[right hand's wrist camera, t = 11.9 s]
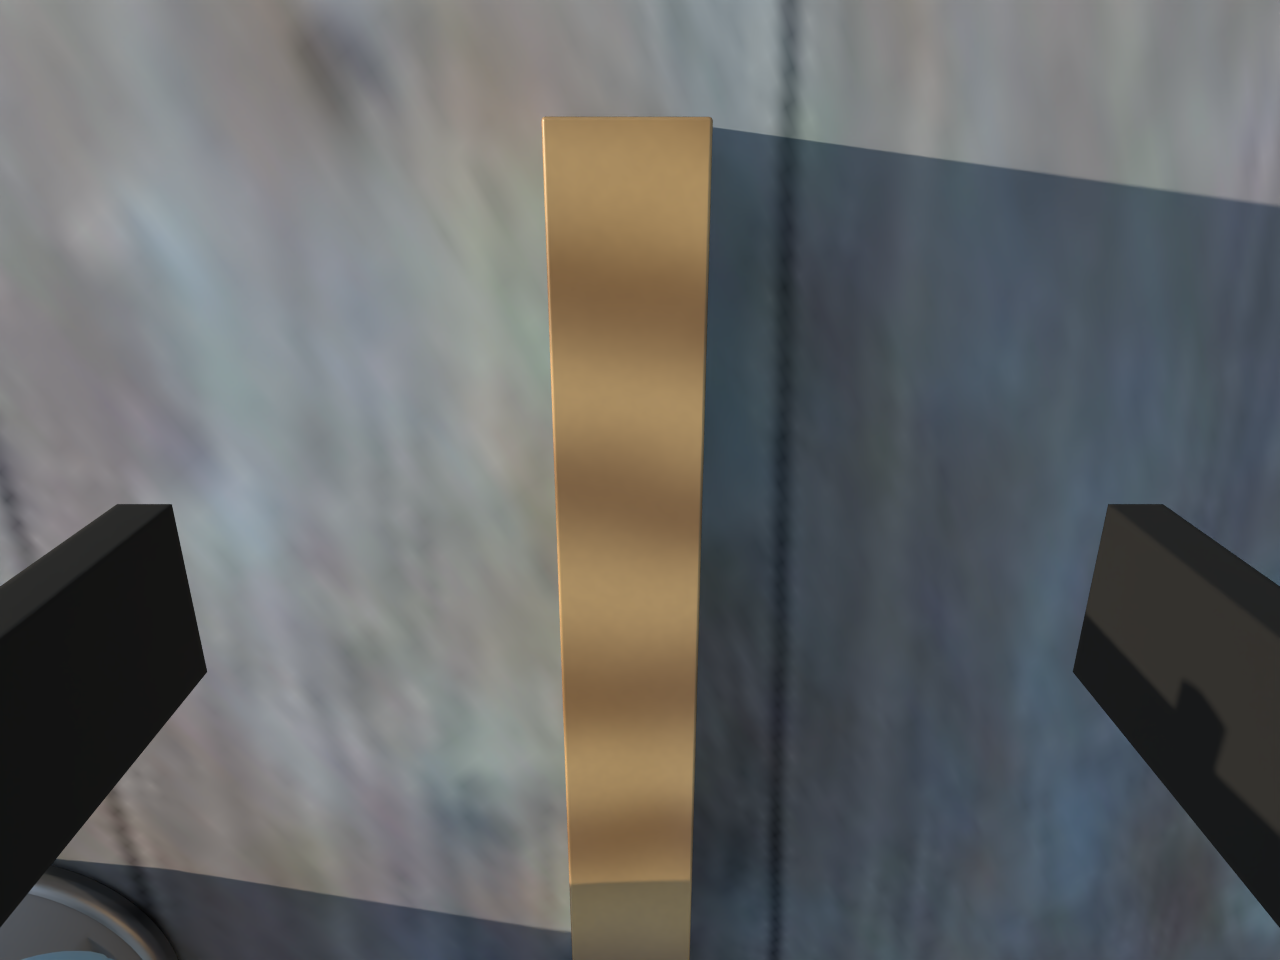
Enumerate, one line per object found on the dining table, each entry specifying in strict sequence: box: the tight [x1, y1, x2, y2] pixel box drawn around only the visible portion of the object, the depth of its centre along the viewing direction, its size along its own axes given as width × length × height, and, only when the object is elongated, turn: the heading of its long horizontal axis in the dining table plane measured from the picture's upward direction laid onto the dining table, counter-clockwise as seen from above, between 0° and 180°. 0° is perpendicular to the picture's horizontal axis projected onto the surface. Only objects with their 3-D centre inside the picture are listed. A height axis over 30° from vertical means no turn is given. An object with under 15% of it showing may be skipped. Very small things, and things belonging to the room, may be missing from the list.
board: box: [542, 117, 713, 960], centre depth 40 cm, size 65×5×8 cm, turn 0°
